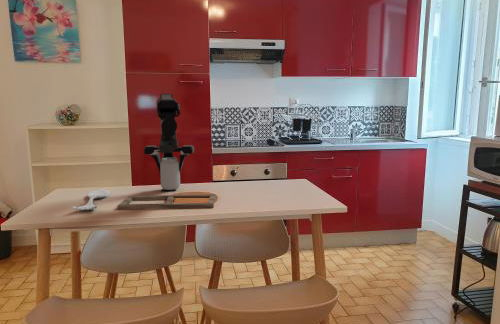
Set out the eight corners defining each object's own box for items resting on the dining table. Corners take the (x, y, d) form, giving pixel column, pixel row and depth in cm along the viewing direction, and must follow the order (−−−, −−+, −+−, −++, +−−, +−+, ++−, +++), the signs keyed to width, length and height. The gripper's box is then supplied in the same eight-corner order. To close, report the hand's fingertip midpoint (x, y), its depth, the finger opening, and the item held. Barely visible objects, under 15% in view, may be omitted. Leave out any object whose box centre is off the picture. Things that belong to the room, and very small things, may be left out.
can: (182, 186, 157) (181, 156, 156) (177, 190, 150) (175, 159, 148) (164, 185, 158) (163, 156, 156) (158, 190, 151) (156, 159, 149)
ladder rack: (129, 199, 162) (128, 195, 162) (215, 197, 164) (215, 194, 163) (117, 209, 147) (117, 205, 146) (213, 207, 148) (213, 204, 148)
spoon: (71, 215, 140) (70, 206, 140) (89, 195, 171) (89, 187, 171) (98, 214, 142) (97, 204, 141) (111, 194, 173) (110, 186, 172)
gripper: (139, 133, 143) (141, 175, 145) (190, 133, 143) (191, 174, 145) (146, 131, 154) (148, 170, 156) (193, 131, 154) (194, 169, 156)
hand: (170, 171), depth 153 cm, fingers closed on can, 7 cm apart
